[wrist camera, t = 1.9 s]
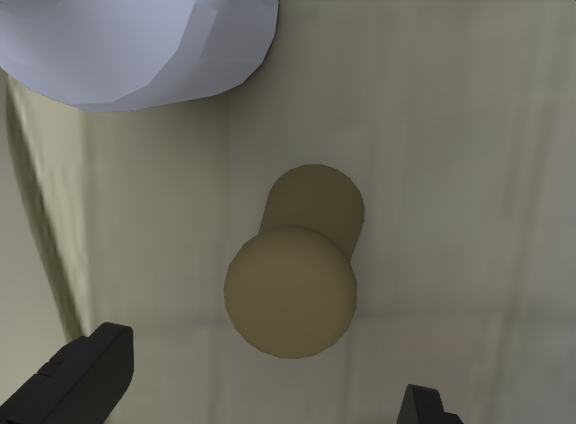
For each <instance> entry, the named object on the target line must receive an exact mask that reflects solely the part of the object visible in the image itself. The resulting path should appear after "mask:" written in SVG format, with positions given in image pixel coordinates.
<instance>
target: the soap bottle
mask: <svg viewBox="0 0 576 424" xmlns="http://www.w3.org/2000/svg"><path fill="white" fill-rule="evenodd" d="M278 4H279V0H0V67H1V68H2V69H3V70H5V71H6V72H7V73H8V74H10V75H11V76H12V77H14V78H15V79H16V80H18V81H19V82H20V83H21V84H23V85H24V86H25V87H27V88H28V89H29V90H31V91H34V92H36V93H38V94H41V95H43V96H45V97H48V98H50V99H53V100H56V101H59V102H62V103H64V104H67V105H70V106H73V107H76V108H79V109H81V110H84V111H87V112H120V111H134V110H140V109H145V108H150V107H156V106H161V105H166V104H172V103H177V102H182V101H188V100H193V99H198V98H204V97H209V96H214V95H218V94H220V93H223V92H225V91H227V90H229V89H231V88H234V87H236V86H238V85H240V84H242V83H243V82H244V81H245V80H246V79H247V78H248V77H249V76H250V75H251V74H252V73H253V72H254V71H255V70H256V69H257V68H258V67H259V66H260V65H261V64H262V62H263V60H264V58H265V56H266V53H267V51H268V49H269V47H270V45H271V42H272V40H273V38H274V36H275V31H276V22H277V13H278Z"/></svg>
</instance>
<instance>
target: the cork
mask: <svg viewBox="0 0 576 424" xmlns="http://www.w3.org/2000/svg"><path fill="white" fill-rule="evenodd" d="M363 222H364V204H363V201H362V198H361V194H360V191H359V190H358V189H357V187H356V186H355V185H354V183H353V182H352V181H351V179H350V178H348V177H347V176H345V175H344V174H342V173H341V172H340V171H338V170H337V169H333V168H330V167H327V166H324V165H303V166H300V167H297V168H294V169H291V170H289V171H288V172H287V173H285V174H284V175H283V176H281V177H280V178H279V179H278V180H277V181H276V183H275V184H274V186H273V187H272V189H271V190H270V192H269V196H268V200H267V203H266V207H265V211H264V215H263V219H262V222H261V226H260V230H259V234H258V235H256V236H255V237H253V238H252V239H251V240H249V241H248V242H246V243H245V244H244V245H243V246H242V248H241V249H240V250H239V252H238V253H237V255H236V256H235V258H234V259H233V261H232V262H231V263H230V265H229V268H228V272H227V276H226V280H225V285H224V298H225V307H226V310H227V312H228V314H229V316H230V318H231V321H232V323H233V325H234V327H235V329H236V330H237V331H238V333H239V334H240V335H241V336H242V337H243V338H244V339H245V340H246V342H248V343H249V344H251V345H252V346H254V347H255V348H257V349H258V350H260V351H261V352H264V353H266V354H269V355H272V356H275V357H278V358H289V359H299V358H304V357H309V356H314V355H316V354H317V353H319V352H321V351H323V350H325V349H327V348H329V347H330V346H332V345H334V344H335V343H336V342H337V341H338V340H339V339H340V338H341V336H342V335H343V334H344V333H345V332H346V331H347V329H348V327H349V324H350V322H351V320H352V317H353V315H354V312H355V310H356V300H357V282H356V278H355V275H354V273H353V270H352V267H351V264H350V260H351V257H352V254H353V251H354V248H355V245H356V242H357V240H358V237H359V234H360V231H361V228H362V225H363Z"/></svg>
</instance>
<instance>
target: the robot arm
mask: <svg viewBox="0 0 576 424" xmlns="http://www.w3.org/2000/svg"><path fill="white" fill-rule="evenodd" d="M133 372H134V349H133V330H132V328H131V327H129V326H124V325H119V324H114V323H109V322H104V323H103V324H101V325H100V326H99V327H98V328H97V329H96V330H95V331H94V332H93V333H92V334H91V335H90V336H89V337H85V336H81V337H79V338H78V339H76V340H74V341H72V342H70V343H68V344H67V345H65V346H63V347H62V348H61V349H60V350H59V351H58V352H57V353H56V354H55V355H54V356H53V357H52V358H51V359H50V360H49V362H46V363H45V364H44V365H43V366H42V367H41V368H40V369H39V370H38V372H37V374H34V375H33V376H32V377H31V378H30V379H29V380H28V381H26V382H25V383H24V384H23V385H22V386H21V387H20V388H19V389H18V390H17V391H16V392H15V393H14V394H13V395H12V396H11V397H10V398H9V399H8V400H7V401H5V402H4V403H3V404H2V405H1V406H0V424H103V423H104V422H105V420H106V419H107V417H108V416H109V414H110V413H111V412H112V410H113V409H114V407H115V406H116V405H117V403H118V402H119V400H120V399H121V398H122V396H123V395H124V393H125V392H126V390H127V389H128V387H129V385H130V382H131V380H132V376H133ZM396 424H464V423H463V422H462V421H461V419H460V418H459V417H458V415H457V414H452V413H447V412H444V409H443V405H442V401H441V398H440V394H439V392H438V390H437V389H432V388H427V387H422V386H418V385H413V384H408V386H407V388H406V391H405V395H404V398H403V402H402V405H401V409H400V412H399V416H398V419H397V423H396Z"/></svg>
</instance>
